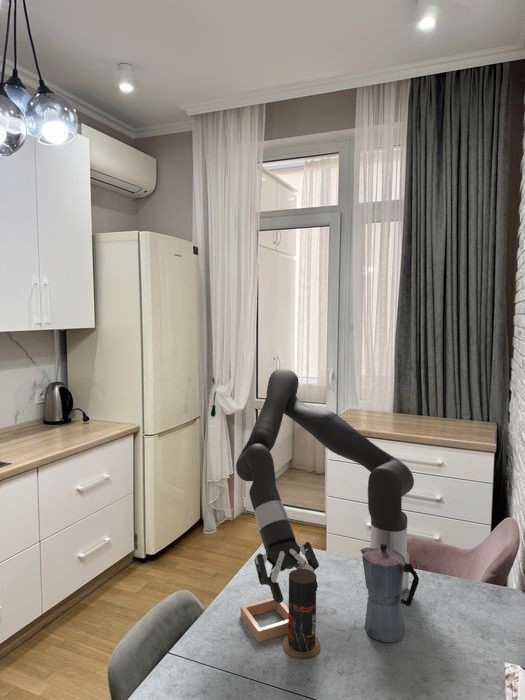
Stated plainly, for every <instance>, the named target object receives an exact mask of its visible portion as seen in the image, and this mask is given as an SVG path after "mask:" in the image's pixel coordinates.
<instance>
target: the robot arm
mask: <svg viewBox="0 0 525 700" xmlns="http://www.w3.org/2000/svg"><path fill="white" fill-rule="evenodd" d="M299 384H300V383H299V377H298V376H297V373H295V372H294V371H293V370H291V369H288V368H278V369H276V370H274V371H273V372H272V373H271V374H270V376H269V378H268V383H267V388H266V396H265V400H264V403H263V405H262V408H261V410H260V412H259V414H258V416H257V419H256V421H255V423H254V425H253V428H252V430H251V433H250V436H249V438H248V439H247V440H248V441H247V442H246V444H245V445H244V447H243V448H242V451H241V452H240V453H239V456H238V458H237V460H236V465H235V471H236V473H237V475H238V477H239V478H240V479H241V480H243V481H244V482H251V486H250V488H249V491H248V493H249V494H248V496H249V499H250V502H251V505H252V508H253V512H254V517H255V521H256V522H255V523H256V525H257V529H258V531H259V535H260V537H261V541H262V544H263V547H264V550H265V553H263V554H262V553H258V554H257V555H255V557H254V558H253V561H254V564H255V569H256V573H257V578H258V581H259V584H260V586H264V585H267V586H268V587H269V589H270V591H271V595H272V598H273V599H274V600H275V601H277V603H281V602H282V601H283V602H284V597H283V593H282V590H281V586H280V584H279V582H277V579H278V577H279V573H280V572H283V571H286V570H292V569H294V568H295V570H296V569H307V570H310V571H312V572H314V573H315V570H317V569H318V568H319V566H320V564H319V562H318V559H317V557H316V554H315V552H314V549H313V547H312V544H311V543H310V541H306V542H305V543H304V544H300V545H299V544H298V543H297V540H296V536H295V534H294V533H295V532H294V530H293V528H292V525H291V524H292V523H291V522H290V518H289V516H288V513H287V511H286V508H285V505H284V504H283V502H282V499H281V495H280V493H279V490H278V488H277V483H276V482H277V480H276V472H275V470H276V469H275V463H274V459H273V456H272V453H271V451H272V449H274V446H275V444H276V441H277V438H278V437H279V436H278V435H279V433H280V429H281V426H282V422H283V417H284V415H286V416H287V417H288V418H290V419H291V420H293V421H294V422H296V424H298V425H299V426H301V427H302V428H303V429H304V430H305V431H307V432H308V433H309V434H311V435H312V436H313V437H314V438H315V439H316V440H317V441H318V442H319V443H320V444H321V445H323V446H324V447H325V448H327V450H329V451H330V452H332V453H333V454H336V455H338V456H340V457H341V458H345V459H348V460H350V461H352V462H354V463H356V464H359V465H360V466H362V467H363V468H365V469H366V470H368V471H369V472H370V473H369V476H368V481H367V505H368V507H367V509H368V514H369V516H370V542H369V544H370V545H369V548H379V547H380V545H381V544H386V545H387V549H391V550H396V551H397V552H399V553H400V554H401V555H403V556H404V557H405V562H406V563H408V564H410V554H409V552H408V551H407V545H408V544H407V543H408V516H407V514H406V513H405V512H404V511H402V510H403V509H402V507H403V505H402V498H403V497H404V496H405V495H407V494H408V493H409V492H410V491H411V490H413V487H414V485H415V480H414V479H415V478H414V475H413V472H412V471H411V470H410V468H409V467H408V466H407V465H406V464H405V463H403V462H402V461H401V460H399V459H397V457H395V456H393V455H391V454H390V453H389V452H386V451H385V450H383V449H381V448H380V447H379V446H378V445H376V444H375V443H373V442H372V441H371V440H369V439H368V437H366V436H364V435H363V434H361V433H360V431H358V430H357V429H355V427H353V426H352V425H351V424H349V423H348V422H347V421H346V420H344V418H342V417H340V416H339V415H338V414H336V413H335V412H333V411H331V410H327V409H322V408H321V409H319V408H314V407H313V408H312V407H310V406H308V405H306V404H305V403H304V402H303V401H301V400H300V399H299V397H297V393H298V389H299ZM300 554H302V555H304V557H305V558H303V557H302V556H301V555H300ZM267 562H268V563H270V564H271V568H270V571H269V576H268V572H267V569H266V563H267ZM409 574H410V572H404V574H403V583H402V589H401V592H400V596H402V595H403V594H404V593H405V592H406V590H409ZM318 588H319V585H318V582H317V580H316V592H317V591H318Z"/></svg>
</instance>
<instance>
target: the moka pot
mask: <svg viewBox="0 0 525 700" xmlns="http://www.w3.org/2000/svg"><path fill="white" fill-rule="evenodd" d="M359 551H360V552H361V554H362V557H361V559H362V565H363V570H364V571H363V573H364V580H365V588H366V589H367V595H368V596H367V603H366V610H365V611H366V612H365V621H364V630H365V631H366V633H367V634H368V635H369V636H370V637H371V638H372V639H374V640H377V641H379V642H384V643H393V642H395V643H396V642H397V641H401V640H403V638H404V637H405V634H406V626H405V621H404V614H403V606H402V605H404V606H406V607H411V606H412V603H413V600H414V596H415V593H416V591H417V588H418V585H419V580H420V577H419V576H418V573H417V571H416V570H415V569H414V567H413V564H412V563H409V564H408V563H406V562H405V557H404V556H403V555H401V554H400V553H399V552H397V551H396V550H391V549H387V545H386V544H381V545H380V547H379V548H370V547H366V546H365V547H364V548H361V549H360V550H359ZM404 572H409V574H411V575H412V577H413V579H412V581H411V582H412V583H411V586H410V588H409V592H408V596H407V597H406V599H404V598H401V595H400V592H401V589H402V583H403V574H404Z"/></svg>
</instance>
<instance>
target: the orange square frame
mask: <svg viewBox="0 0 525 700" xmlns="http://www.w3.org/2000/svg"><path fill="white" fill-rule="evenodd" d="M274 610H276V611H277V612H278V613H279V615H280V616H281V617H282V619H284V620H281V621H278V622H274V623H272V624H268V625H265V626H260V624H259V623H258V622H257V621H256V619H255V618H254V616H257V615H261V614H264V613H268V612H270V611H274ZM288 613H289V606H287V605H286V604H285V603H284V600H283V601H282V602H281V603H277V601H275V600H274V599H273V597H270V598H267V599H263V600H258V601H255V602H252V603H249V604H244V605H242V606H240V616H239V617H240V618H241V619H242V621H243V622H244V624H245V626H246V627H247V628H248V630H249V631H250V633H251V634H252V636H253V637H254V638H255V641H257V643H261V642H265V641H267V640H270V639H274V638H276V637H280V636H283V635H286V634H287V635H288Z"/></svg>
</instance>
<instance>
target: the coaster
mask: <svg viewBox="0 0 525 700" xmlns="http://www.w3.org/2000/svg"><path fill="white" fill-rule="evenodd" d="M282 647H283V650H284V652H285V653H286V654H287V655H288V656H289V657H291V658H295V659H298V660H309V659H312V658H315V657H317V655H318V654H319V653H320V650H321V641H320V640H319V639H318V637H317V636H316V643H315V647H314V648H313V649H312V650H311V651H308V652H298V651H295V650H293V649H292V648H291V647H290V646H289V644H288V634H287V635H285V637H284V638H283V643H282Z"/></svg>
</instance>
